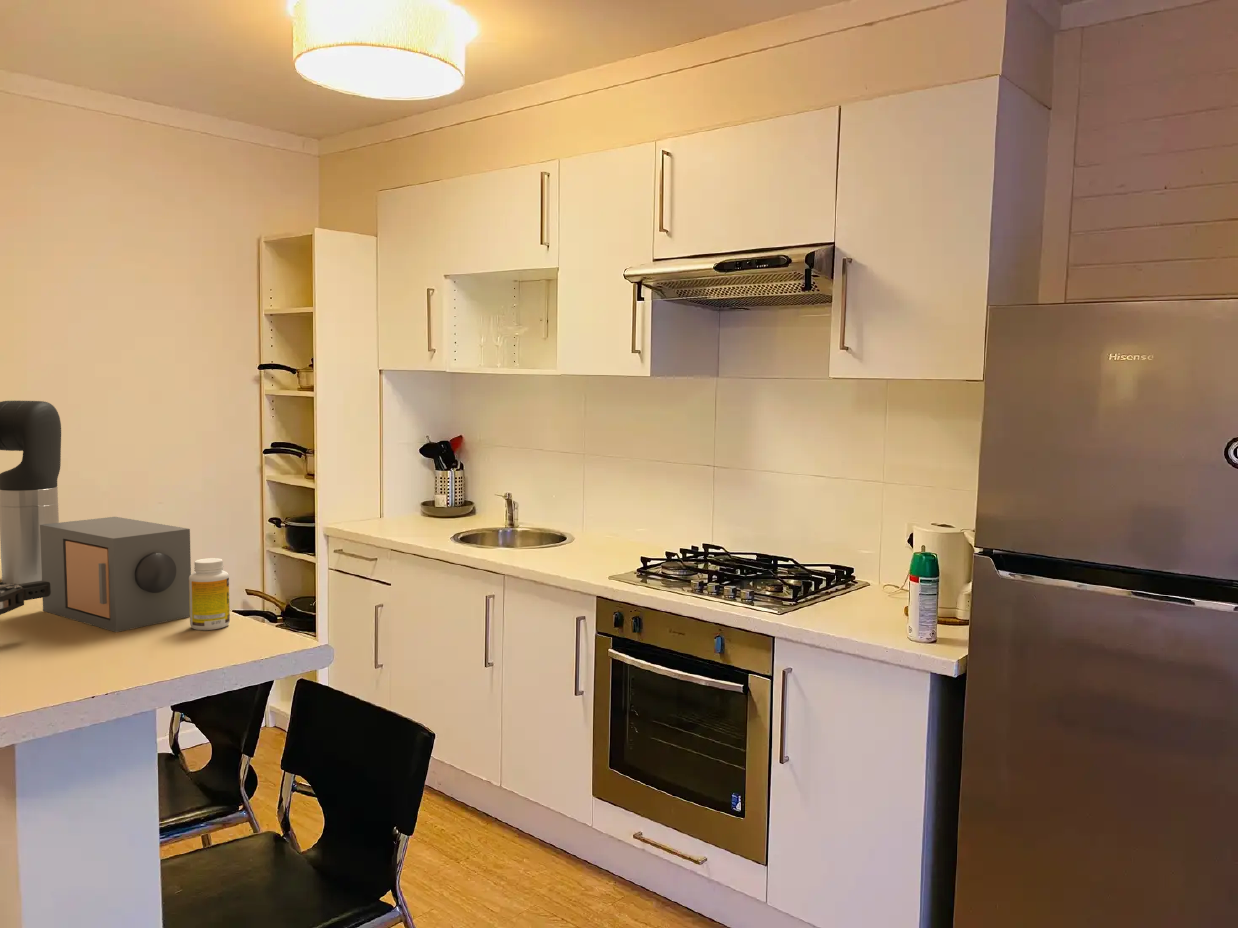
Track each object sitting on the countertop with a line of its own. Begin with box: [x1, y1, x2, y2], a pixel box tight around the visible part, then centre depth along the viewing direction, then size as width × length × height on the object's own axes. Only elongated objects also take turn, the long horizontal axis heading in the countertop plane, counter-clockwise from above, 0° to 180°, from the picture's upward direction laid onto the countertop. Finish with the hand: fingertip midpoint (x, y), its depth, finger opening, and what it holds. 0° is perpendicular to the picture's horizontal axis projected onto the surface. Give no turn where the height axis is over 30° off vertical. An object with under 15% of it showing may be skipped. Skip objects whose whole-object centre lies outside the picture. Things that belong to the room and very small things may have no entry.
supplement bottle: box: [189, 557, 231, 631], centre depth 141 cm, size 6×6×10 cm
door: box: [66, 540, 110, 618], centre depth 141 cm, size 12×2×10 cm, turn 57°
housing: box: [40, 516, 192, 633], centre depth 147 cm, size 23×12×14 cm, turn 57°
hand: (47, 587), depth 134 cm, fingers closed
